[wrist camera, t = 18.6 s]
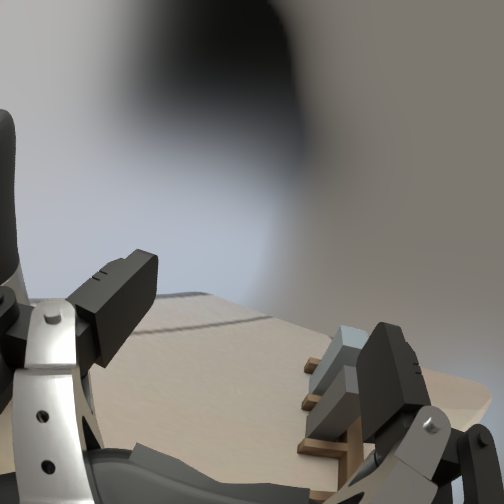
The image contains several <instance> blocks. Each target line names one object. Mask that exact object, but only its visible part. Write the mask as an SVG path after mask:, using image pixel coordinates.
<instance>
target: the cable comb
mask: <svg viewBox="0 0 504 504" xmlns="http://www.w3.org/2000/svg"><path fill="white" fill-rule="evenodd" d="M320 361H321V360H319V359H315V358H311V357H310V358H309V360H308V362H307V363H306V365H305V367H304V372H305V373H310V374H313V372H314V371H315V369H316V368H317V366H318V364H319V363H320ZM321 397H322V396H317V395H313V394H308V395H307V396H306V398H305V399H304V400H303V402H302V408H301V409H304V410H309V411H312V409H313V408H314V407H315V405H316V404H317V403H318V401H319V400H320V399H321ZM297 453H302V454H309V455H317V456H325V457H335V458H339V470H338V491H339V490H340V489H341V488H342V487H343V486H344V485H345V483H346V482H347V481H348V480H349V479H350V478H351V476H352V475H353V474H354V473H355V472H356V470H357V469H358V468H359V467H360V466H361V464H362V463H363V462H364V454H363V443H362V427H361V416H360V417H359V418H358V419H357V420H356V421H355V422H354V423H353V424H352V425H351V426H350V427H349V428H348V429H347V430H346V431H345V432H343V433H342V434H341V435H340V436H339V442H330V441H323V440H316V439H309V438H304V439H303V440H302V442H301V443H300V444H299V445H298V449H297ZM335 493H337V492H325V491H312V490H310V496H309V498H311V499H313V500H315V501H317V502H320V503H322V504H323V503H324V502H325V501H326V500H327V499H329V498H330V497H331V496H333V495H334V494H335Z"/></svg>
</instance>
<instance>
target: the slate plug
mask: <svg viewBox="0 0 504 504" xmlns="http://www.w3.org/2000/svg"><path fill="white" fill-rule="evenodd" d="M367 340H368V336H367V332H366V331H363V330H359V329H355V328H351V327H347V326H343V325H341V326H340V327H339V329H338V331H337V333H336V335H335V336H334V338H333V340H332V342H331V344H330V345H329V347H328V349H327V351H326V352H325V354H324V356H323V357H322V359H321V361H320V363H319V364H318V366H317V368H316V369H315V371H314V372H313V374H312V376H311V377H310V381H309V394H313V395H317V396H323V395H324V393H325V392H326V391H327V389H328V388H329V386H330V385H331V384H332V382H333V381H334V379H335V378H336V376H337V375H338V373H339V372H340V371H341V369H342V368H343V366H344V365H346V366H351V367H356V362H357V358H358V355H359V353H360V351H361V350H362V348H363V346H364V345H365V343H366V342H367Z"/></svg>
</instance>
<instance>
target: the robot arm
mask: <svg viewBox="0 0 504 504" xmlns="http://www.w3.org/2000/svg"><path fill="white" fill-rule="evenodd" d="M15 153H16V135H15V126H14V122H13V118H12V116H11V115H10V113H9V112H8V111H6V110H3V109H0V414H1V413H2V411H3V410H4V409H5V407H6V406H7V404H8V403H9V401H10V400H11V398H12V397H13V401H12V433H13V451H14V462H15V471H16V472H12V473H7V474H2V475H0V504H322V503H320V502H317V501H315V500H313V499H311V498H309V496H310V489H308V488H299V487H291V486H284V485H277V484H271V483H258V484H229V483H220V482H218V481H215V480H214V479H212V478H210V477H208V476H206V475H204V474H203V473H201V472H199V471H197V470H195V469H194V468H192V467H190V466H189V465H187V464H185V463H184V462H182V461H180V460H179V459H176V458H174V457H171V456H168V455H166V454H163V453H161V452H158V451H156V450H153V449H151V448H148V447H146V446H144V445H141V444H139V443H136V445H135V447H134V449H133V451H132V450H127V449H118V448H104V444H103V440H102V436H101V433H100V430H99V427H98V423H97V419H96V414H95V408H94V401H93V394H92V387H91V379H90V371H89V369H90V368H91V366H92V365H93V364H94V363H96V364H98V365H99V366H101V367H103V368H106V366H107V365H108V364H109V362H110V361H111V360H112V358H113V357H114V355H115V354H116V353H117V351H118V350H119V349H120V347H121V346H122V345H123V343H124V342H125V341H126V339H127V338H128V337H129V335H130V334H131V333H132V331H133V330H134V329H135V327H136V326H137V325H138V323H139V322H140V321H141V320H142V318H143V317H144V316H145V314H146V313H147V312H148V311H149V309H150V308H151V306H152V305H153V302H154V300H155V297H156V291H157V274H158V256H157V255H154V254H151V253H148V252H146V251H143V250H139V249H137V250H135V251H134V252H133V253H132V254H130V255H129V256H128V257H127V258H126V259H123V258H120V259H117V260H114V261H111V262H109V263H107V265H105V266H104V267H103V268H101V269H100V270H99V272H97V273H96V274H94V275H93V276H92V278H89V279H88V280H87V281H86V282H85V283H84V284H82V285H81V286H80V287H79V288H78V289H77V290H76V291H74V292H73V293H72V294H71V295H70V296H69V297H68V298H67V299H65V300H63V299H55V298H54V299H48V300H45V301H43V302H41V303H39V304H38V305H37V306H36V307H33V306H30V302H29V299H28V295H27V291H26V287H25V283H24V279H23V274H22V270H21V264H20V260H19V254H18V248H17V230H16V217H15V203H14V177H15V176H14V174H15ZM418 365H419V363H418V360H417V357H416V354H415V352H414V351H413V349H412V348H411V346H410V345H409V344H408V342H405V339H404V336H403V333H402V330H401V328H400V327H399V326H395V325H392V324H388V323H384V322H380V323H378V324H377V326H376V327H375V329H374V330H373V332H372V334H371V335H370V337H369V339H368V340H367V342H366V343H365V345H364V346H363V348H362V350H361V351H360V353H359V355H358V358H357V362H356V372H357V381H358V391H359V401H360V413H361V427H362V443H373V444H375V449H374V450H373V451H372V452H371V453H370V454H369V455H368V457H367V458H366V459H365V460H364V462H363V463H362V464H361V466H360V467H359V468H358V469H357V470H356V472H355V473H354V474H353V475H352V476H351V478H350V479H349V480H348V481H347V482H346V483H345V485H344V486H343V487H342V488H341V489H340V490H339V491H338V492H337V493H335V494H334V495H333V496H331V497H330V498H329V499H327V500H326V501H325V502H324V503H323V504H453V498H452V486H451V482H452V481H453V480H455V479H457V478H458V477H460V476H461V475H462V481H463V490H464V503H463V504H504V489H503V483H502V477H501V471H500V466H499V461H498V456H497V452H496V448H495V444H494V440H493V437H492V435H491V433H490V431H489V430H488V429H487V428H486V427H485V426H483V425H481V424H475V425H473V426H471V427H470V428H469V429H468V430H467V431H466V432H462V431H459V430H456V429H453V428H451V425H450V421H449V419H448V417H447V416H446V414H445V413H444V412H443V411H442V410H440V409H439V408H437V407H434V406H431V402H430V399H429V395H428V392H427V388H426V385H425V381H424V378H423V375H421V373H422V372H421V369H420V366H418Z"/></svg>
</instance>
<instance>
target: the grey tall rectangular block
mask: <svg viewBox="0 0 504 504" xmlns="http://www.w3.org/2000/svg"><path fill="white" fill-rule="evenodd" d="M360 416H361V413H360V401H359V391H358V381H357V372H356V367H351V366H346V365H344V366H343V368H342V369H341V371H340V372H339V373H338V375H337V376H336V378H335V379H334V381H333V382H332V384H331V385H330V386H329V388H328V389H327V391H326V392H325V393H324V395H323V396H322V397H321V399H320V400H319V401H318V403H317V404H316V405H315V407H314V408H313V409H312V411H311V412H310V413H309V414H308V416H307V420H306V434H305V438H309V439H316V440H323V441H330V442H334V441H335V440H336V439H337V438H338V437H339V436H340V435H341V434H342V433H343V432H345V431H346V430H347V429H348V428H349V427H350V426H351V425H352V424H353V423H354V422H355V421H356V420H357V419H358V418H359V417H360Z"/></svg>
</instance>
